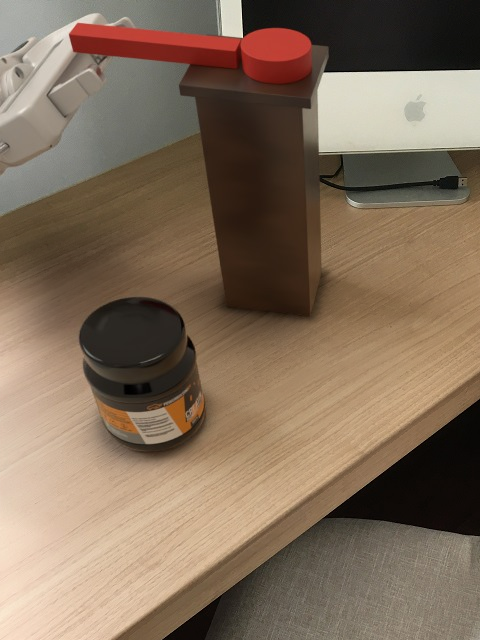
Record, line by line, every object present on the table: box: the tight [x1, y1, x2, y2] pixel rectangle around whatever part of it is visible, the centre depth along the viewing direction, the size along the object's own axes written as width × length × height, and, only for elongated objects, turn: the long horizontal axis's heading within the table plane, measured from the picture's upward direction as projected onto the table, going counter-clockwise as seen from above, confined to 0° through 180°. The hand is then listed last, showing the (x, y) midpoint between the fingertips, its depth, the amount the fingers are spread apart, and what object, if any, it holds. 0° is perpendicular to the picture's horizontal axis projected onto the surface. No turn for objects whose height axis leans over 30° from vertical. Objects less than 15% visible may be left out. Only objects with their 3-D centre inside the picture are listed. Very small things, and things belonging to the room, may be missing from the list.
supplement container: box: [78, 296, 207, 452], centre depth 77 cm, size 10×10×12 cm
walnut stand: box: [178, 33, 330, 317], centre depth 83 cm, size 12×10×26 cm
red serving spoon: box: [69, 23, 312, 84], centre depth 72 cm, size 22×6×2 cm, turn 83°
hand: (116, 50), depth 73 cm, fingers open, 8 cm apart
